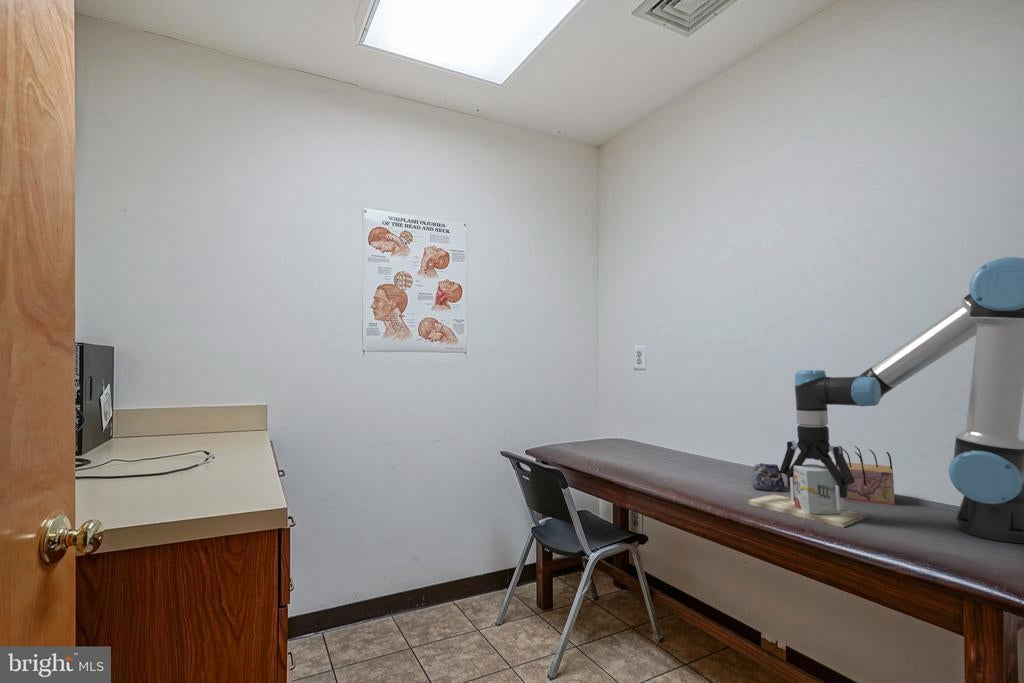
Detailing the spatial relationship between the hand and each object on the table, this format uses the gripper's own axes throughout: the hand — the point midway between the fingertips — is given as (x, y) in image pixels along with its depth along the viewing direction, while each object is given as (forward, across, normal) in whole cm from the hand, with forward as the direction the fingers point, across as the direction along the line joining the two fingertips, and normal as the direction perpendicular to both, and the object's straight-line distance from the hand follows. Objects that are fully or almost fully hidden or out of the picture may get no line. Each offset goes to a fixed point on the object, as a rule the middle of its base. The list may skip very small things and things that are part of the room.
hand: (816, 504), depth 140 cm
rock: (+3, +25, -16) cm, 30 cm away
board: (+3, +4, 0) cm, 5 cm away
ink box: (+2, 0, 0) cm, 2 cm away
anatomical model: (+3, +1, -28) cm, 28 cm away
